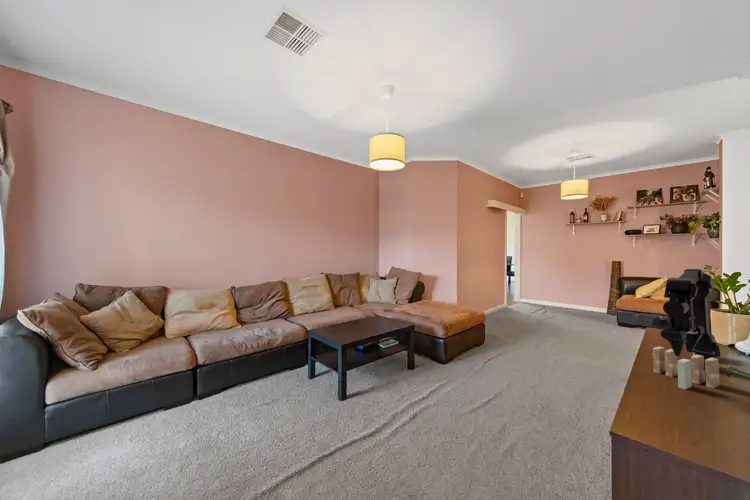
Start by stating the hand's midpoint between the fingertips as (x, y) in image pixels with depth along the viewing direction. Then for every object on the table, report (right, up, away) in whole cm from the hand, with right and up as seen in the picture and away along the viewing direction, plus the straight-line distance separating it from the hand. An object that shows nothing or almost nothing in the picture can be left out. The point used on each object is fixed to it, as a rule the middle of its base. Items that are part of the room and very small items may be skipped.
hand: (683, 353), depth 117 cm
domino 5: (+11, -12, 0) cm, 16 cm away
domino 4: (+9, -12, +3) cm, 16 cm away
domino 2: (+6, -12, +11) cm, 17 cm away
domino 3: (0, -12, 0) cm, 12 cm away
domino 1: (+4, -12, +14) cm, 19 cm away
